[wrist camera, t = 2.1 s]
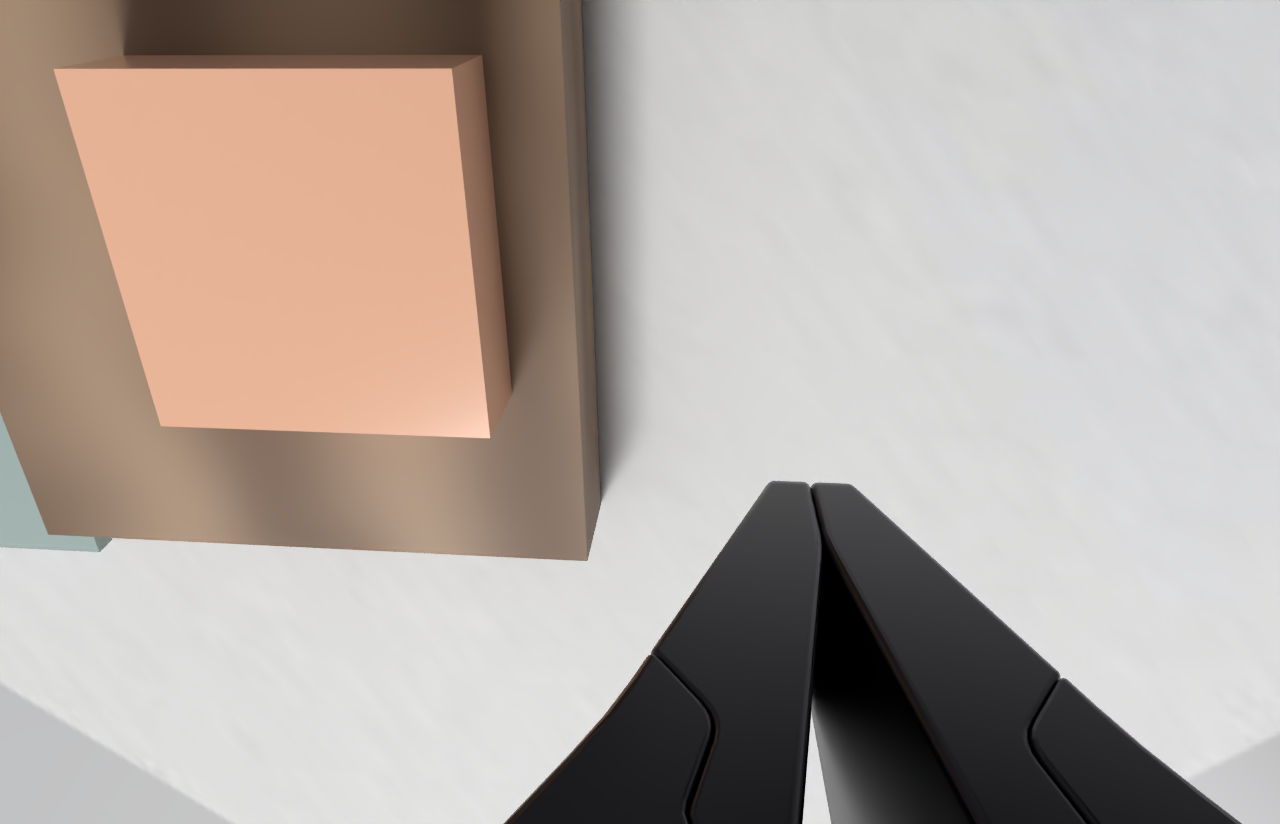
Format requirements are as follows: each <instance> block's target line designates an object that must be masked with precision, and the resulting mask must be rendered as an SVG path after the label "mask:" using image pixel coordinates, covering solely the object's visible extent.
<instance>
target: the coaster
mask: <svg viewBox="0 0 1280 824" xmlns="http://www.w3.org/2000/svg"><path fill="white" fill-rule="evenodd" d="M54 73H55V76H56V79H57V83H58V86H59V89H60V93H61V96H62V99H63V103H64V106H65V109H66V113H67V116H68V119H69V123H70V126H71V129H72V133H73V136H74V139H75V143H76V146H77V149H78V153H79V156H80V159H81V162H82V166H83V169H84V172H85V176H86V179H87V182H88V186H89V189H90V192H91V196H92V199H93V202H94V206H95V209H96V212H97V216H98V219H99V222H100V226H101V229H102V232H103V236H104V239H105V242H106V246H107V249H108V252H109V256H110V259H111V262H112V266H113V269H114V272H115V276H116V279H117V282H118V286H119V289H120V292H121V296H122V299H123V302H124V305H125V309H126V312H127V315H128V319H129V322H130V325H131V329H132V332H133V335H134V339H135V342H136V345H137V349H138V352H139V355H140V359H141V362H142V365H143V369H144V372H145V375H146V379H147V382H148V385H149V389H150V392H151V395H152V399H153V402H154V405H155V409H156V412H157V415H158V419H159V422H160V425H161V426H168V427H196V428H223V429H250V430H277V431H304V432H331V433H359V434H386V435H413V436H440V437H467V438H491V436H492V434H493V432H494V430H495V428H496V426H497V424H498V421H499V419H500V417H501V415H502V413H503V411H504V409H505V407H506V405H507V403H508V401H509V399H510V397H511V395H512V387H511V376H510V364H509V353H508V342H507V331H506V319H505V308H504V297H503V285H502V274H501V263H500V251H499V240H498V229H497V218H496V206H495V195H494V184H493V172H492V161H491V150H490V138H489V127H488V116H487V105H486V93H485V82H484V71H483V59H482V55H123V56H118V57H113V58H107V59H102V60H97V61H92V62H86V63H81V64H76V65H71V66H65V67H60V68H55V69H54Z"/></svg>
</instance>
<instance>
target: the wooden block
mask: <svg viewBox="0 0 1280 824" xmlns="http://www.w3.org/2000/svg"><path fill="white" fill-rule="evenodd" d="M123 55H482V59H483V71H484V82H485V93H486V105H487V116H488V127H489V138H490V150H491V161H492V172H493V184H494V195H495V206H496V218H497V229H498V240H499V251H500V263H501V274H502V285H503V297H504V308H505V319H506V331H507V342H508V353H509V364H510V376H511V387H512V395H511V397H510V399H509V401H508V403H507V405H506V407H505V409H504V411H503V413H502V415H501V417H500V419H499V421H498V424H497V426H496V428H495V430H494V432H493V434H492V436H491V438H467V437H440V436H413V435H386V434H359V433H331V432H304V431H277V430H250V429H223V428H196V427H168V426H161V425H160V422H159V419H158V415H157V412H156V409H155V405H154V402H153V399H152V395H151V392H150V389H149V385H148V382H147V379H146V375H145V372H144V369H143V365H142V362H141V359H140V355H139V352H138V349H137V345H136V342H135V339H134V335H133V332H132V329H131V325H130V322H129V319H128V315H127V312H126V309H125V305H124V302H123V299H122V296H121V292H120V289H119V286H118V282H117V279H116V276H115V272H114V269H113V266H112V262H111V259H110V256H109V252H108V249H107V246H106V242H105V239H104V236H103V232H102V229H101V226H100V222H99V219H98V216H97V212H96V209H95V206H94V202H93V199H92V196H91V192H90V189H89V186H88V182H87V179H86V176H85V172H84V169H83V166H82V162H81V159H80V156H79V153H78V149H77V146H76V143H75V139H74V136H73V133H72V129H71V126H70V123H69V119H68V116H67V113H66V109H65V106H64V103H63V99H62V96H61V93H60V89H59V86H58V83H57V79H56V76H55V73H54V69H55V68H60V67H65V66H71V65H76V64H81V63H86V62H92V61H97V60H102V59H107V58H113V57H118V56H123ZM0 413H1V416H2V418H3V421H4V423H5V426H6V429H7V431H8V434H9V436H10V439H11V441H12V444H13V446H14V449H15V451H16V454H17V457H18V459H19V462H20V464H21V467H22V469H23V472H24V474H25V477H26V479H27V482H28V484H29V487H30V490H31V492H32V495H33V497H34V500H35V502H36V505H37V507H38V510H39V512H40V515H41V517H42V520H43V523H44V525H45V528H46V530H47V533H48V535H65V536H85V537H106V538H126V539H147V540H167V541H188V542H208V543H229V544H249V545H270V546H290V547H311V548H332V549H352V550H373V551H393V552H414V553H434V554H455V555H475V556H496V557H516V558H537V559H557V560H578V561H587V560H588V556H589V552H590V548H591V543H592V539H593V535H594V531H595V527H596V522H597V518H598V514H599V510H600V505H601V493H600V467H599V441H598V416H597V390H596V364H595V338H594V312H593V287H592V261H591V235H590V209H589V183H588V158H587V132H586V106H585V80H584V55H583V29H582V3H581V0H0Z"/></svg>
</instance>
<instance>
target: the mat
mask: <svg viewBox="0 0 1280 824" xmlns="http://www.w3.org/2000/svg"><path fill="white" fill-rule="evenodd" d="M111 540H112V538H106V537H85V536H65V535H48V533H47V530H46V528H45V525H44V523H43V520H42V517H41V515H40V512H39V510H38V507H37V505H36V502H35V500H34V497H33V495H32V492H31V490H30V487H29V484H28V482H27V479H26V477H25V474H24V472H23V469H22V467H21V464H20V462H19V459H18V457H17V454H16V451H15V449H14V446H13V444H12V441H11V439H10V436H9V434H8V431H7V429H6V426H5V423H4V421H3V418H2V416H1V413H0V547H8V548H28V549H48V550H68V551H88V552H100V551H101V550H102V549H103V548H104V547H105V546H106V545H107V544H108V543H109V542H110V541H111Z"/></svg>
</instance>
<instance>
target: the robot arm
mask: <svg viewBox="0 0 1280 824" xmlns="http://www.w3.org/2000/svg"><path fill="white" fill-rule="evenodd" d="M811 710H812V717H813V723H814V729H815V734H816V740H817V746H818V751H819V757H820V762H821V768H822V773H823V779H824V785H825V790H826V796H827V801H828V807H829V812H830V818H831V824H1242V823H1240V822H1239V821H1238V820H1236V819H1235V818H1234V817H1232V816H1231V815H1230V814H1229V813H1227V812H1226V811H1225V810H1223V809H1222V808H1221V807H1219V806H1218V805H1217V804H1215V803H1214V802H1213V801H1211V800H1210V799H1209V798H1207V797H1206V796H1205V795H1204V794H1202V793H1201V792H1200V791H1199V790H1197V789H1196V788H1195V787H1194V786H1192V785H1191V784H1190V783H1189V782H1187V781H1186V780H1185V779H1184V778H1182V777H1181V776H1180V775H1178V774H1177V773H1176V772H1175V771H1173V770H1172V769H1171V768H1170V767H1168V766H1167V765H1166V764H1165V763H1163V762H1162V761H1161V760H1160V759H1158V758H1157V757H1156V756H1155V755H1153V754H1152V753H1151V752H1149V751H1148V750H1147V749H1146V748H1144V747H1143V746H1142V745H1141V744H1140V743H1139V742H1138V741H1136V740H1135V739H1134V738H1133V737H1132V736H1131V735H1129V734H1128V733H1127V732H1126V731H1125V730H1124V729H1122V728H1121V727H1120V726H1119V725H1118V724H1117V723H1116V722H1114V721H1113V720H1112V719H1111V718H1110V717H1109V716H1107V715H1106V714H1105V713H1104V712H1103V711H1102V710H1101V709H1099V708H1098V707H1097V706H1096V705H1095V704H1094V703H1093V702H1091V701H1090V700H1089V699H1088V698H1087V697H1086V696H1085V695H1084V694H1083V693H1082V692H1080V691H1079V690H1078V689H1077V688H1076V687H1075V686H1074V685H1073V684H1072V683H1071V682H1069V681H1068V680H1067V679H1065V678H1061V679H1060V674H1059V672H1058V671H1057V670H1056V669H1055V668H1054V667H1052V666H1051V665H1050V664H1049V663H1048V662H1047V661H1046V660H1045V659H1044V658H1042V657H1041V656H1040V655H1039V654H1038V653H1037V652H1036V651H1035V650H1034V649H1033V648H1031V647H1030V646H1029V645H1028V644H1027V643H1026V642H1025V641H1024V640H1023V639H1022V638H1020V637H1019V636H1018V635H1017V634H1016V633H1015V632H1014V631H1013V630H1012V629H1011V628H1009V627H1008V626H1007V625H1006V624H1005V623H1004V622H1003V621H1002V620H1001V619H999V618H998V617H997V616H996V615H995V614H994V613H993V612H992V611H991V610H990V609H988V608H987V607H986V606H985V605H984V604H983V603H982V602H981V601H980V600H979V599H977V598H976V597H975V596H974V595H973V594H972V593H971V592H970V591H969V590H968V589H966V588H965V587H964V586H963V585H962V584H961V583H960V582H959V581H958V580H957V579H955V578H954V577H953V576H952V575H951V574H950V573H949V572H948V571H947V570H945V569H944V568H943V567H942V566H941V565H940V564H939V563H938V562H937V561H936V560H934V559H933V558H932V557H931V556H930V555H929V554H928V553H927V552H926V551H925V550H923V549H922V548H921V547H920V546H919V545H918V544H917V543H916V542H915V541H914V540H912V539H911V538H910V537H909V536H908V535H907V534H906V533H905V532H904V531H902V530H901V529H900V528H899V527H898V526H897V525H896V524H895V523H894V522H893V521H891V520H890V519H889V518H888V517H887V516H886V515H885V514H884V513H883V512H882V511H880V510H879V509H878V508H877V507H876V506H875V505H874V504H873V503H872V502H871V501H869V500H868V499H867V498H866V497H865V496H864V495H863V494H862V493H861V492H860V491H858V490H857V489H856V488H855V487H854V486H852V485H850V484H841V483H815V484H813V485H812V486H811V488H810V486H809V485H808V484H807V483H805V482H790V481H772V482H770V483H768V485H767V486H766V487H765V489H764V490H763V491H762V493H761V494H760V496H759V497H758V499H757V500H756V502H755V503H754V504H753V506H752V507H751V509H750V510H749V512H748V513H747V515H746V516H745V517H744V519H743V520H742V522H741V523H740V525H739V526H738V527H737V529H736V530H735V532H734V533H733V535H732V536H731V538H730V539H729V540H728V542H727V543H726V545H725V546H724V548H723V549H722V550H721V552H720V553H719V555H718V556H717V558H716V559H715V561H714V562H713V563H712V565H711V566H710V568H709V569H708V571H707V572H706V574H705V575H704V576H703V578H702V579H701V581H700V582H699V584H698V585H697V586H696V588H695V589H694V591H693V592H692V594H691V595H690V597H689V598H688V599H687V601H686V602H685V604H684V605H683V607H682V608H681V610H680V611H679V612H678V614H677V615H676V617H675V618H674V620H673V621H672V622H671V624H670V625H669V627H668V628H667V630H666V631H665V633H664V634H663V635H662V637H661V638H660V640H659V641H658V643H657V644H656V645H655V647H654V648H653V650H652V652H651V655H649V656H648V657H647V658H646V659H645V661H644V662H643V664H642V665H641V666H640V668H639V669H638V671H637V672H636V674H635V675H634V677H633V678H632V679H631V681H630V682H629V683H628V685H627V686H626V687H625V689H624V690H623V691H622V693H621V694H620V695H619V697H618V698H617V699H616V701H615V702H614V703H613V704H612V706H611V707H610V708H609V710H608V711H607V712H606V714H605V715H604V716H603V717H602V719H601V720H600V721H599V722H598V723H597V724H596V725H595V726H594V727H593V729H592V730H591V731H590V732H589V733H588V734H587V735H586V736H585V738H584V739H583V740H582V741H581V742H580V743H579V744H578V745H577V747H576V748H575V749H574V750H573V751H572V752H571V753H570V754H569V755H568V756H567V758H566V759H565V760H564V761H563V762H562V763H561V764H560V765H559V766H558V767H557V768H556V769H555V770H554V771H553V772H552V773H551V774H550V775H549V776H548V778H547V779H546V780H545V781H544V782H543V783H542V784H541V785H540V786H539V787H538V788H537V789H536V790H535V791H534V792H533V793H532V794H531V795H530V796H529V798H528V799H527V800H526V801H525V802H524V803H523V804H522V805H521V806H520V807H519V808H518V809H517V810H516V811H515V812H514V813H513V814H512V815H511V816H510V817H509V819H508V820H507V821H506V822H505V823H504V824H802V820H803V808H804V795H805V783H806V770H807V758H808V745H809V733H810V720H811Z"/></svg>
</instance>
